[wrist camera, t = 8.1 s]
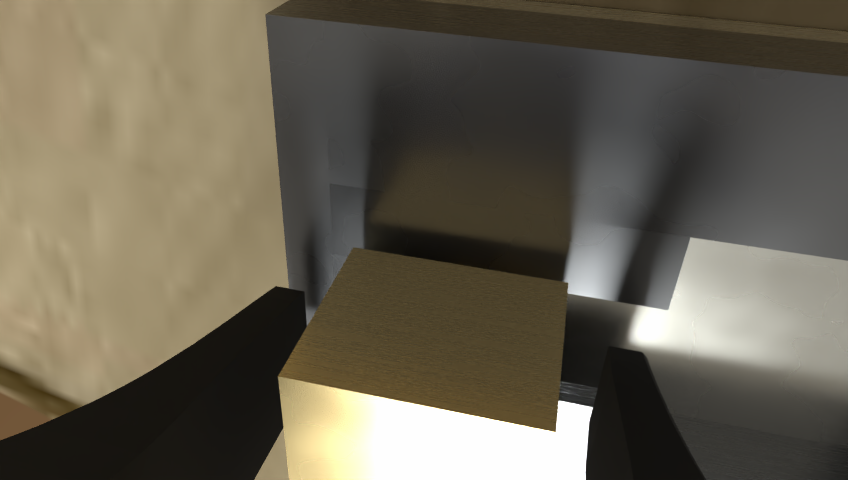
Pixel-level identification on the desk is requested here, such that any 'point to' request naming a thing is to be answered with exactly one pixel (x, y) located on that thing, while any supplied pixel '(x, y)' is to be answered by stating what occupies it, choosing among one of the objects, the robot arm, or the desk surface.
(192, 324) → the desk surface
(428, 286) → the brass peg
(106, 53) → the desk surface
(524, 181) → the keyhole plate
